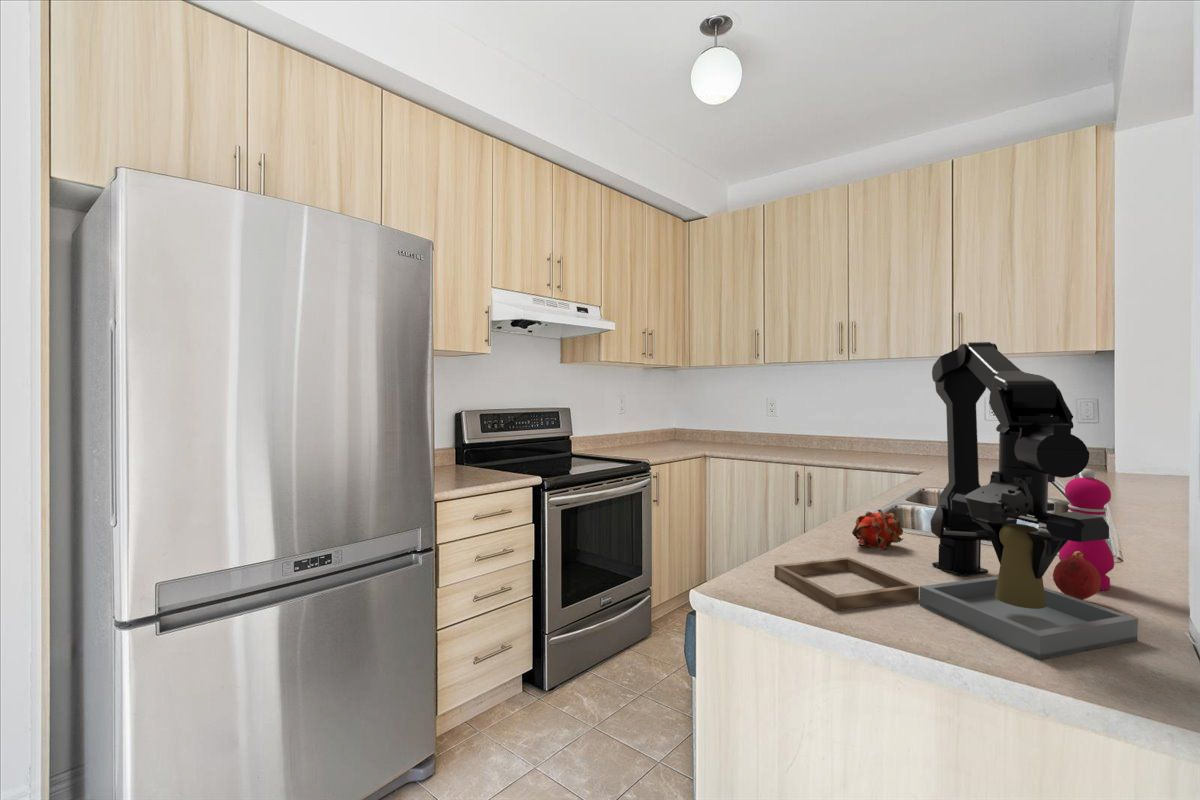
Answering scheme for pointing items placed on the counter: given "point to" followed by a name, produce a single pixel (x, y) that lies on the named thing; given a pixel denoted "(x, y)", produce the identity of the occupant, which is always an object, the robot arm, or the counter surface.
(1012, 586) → the olive shaker
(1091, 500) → the pepper mill
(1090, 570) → the pomegranate
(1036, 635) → the gray square tray
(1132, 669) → the counter surface
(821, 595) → the frame
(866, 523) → the dragon fruit
